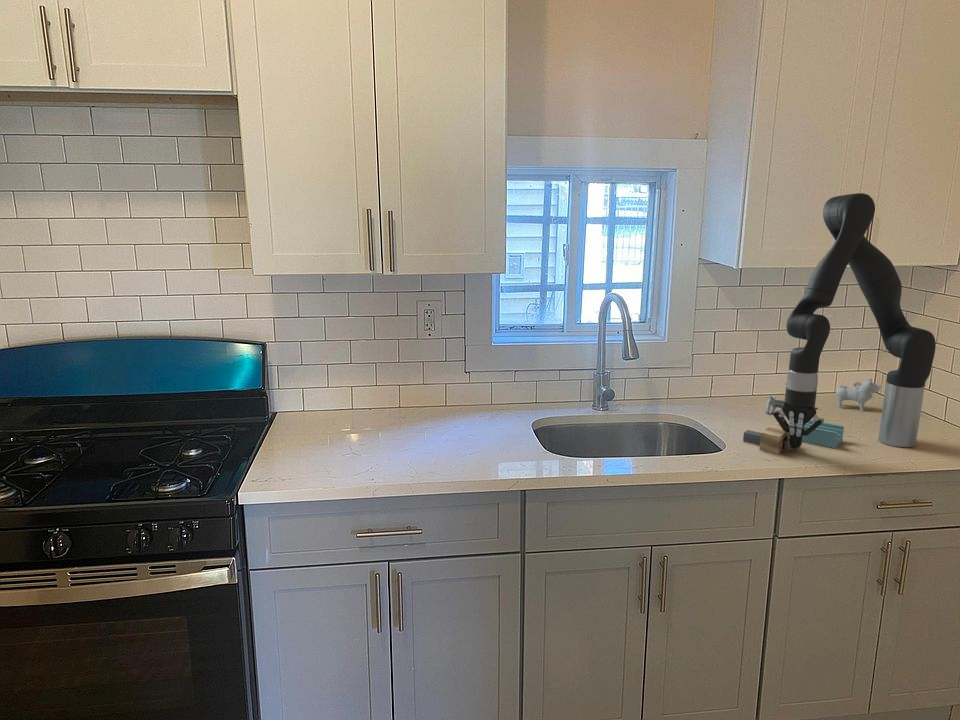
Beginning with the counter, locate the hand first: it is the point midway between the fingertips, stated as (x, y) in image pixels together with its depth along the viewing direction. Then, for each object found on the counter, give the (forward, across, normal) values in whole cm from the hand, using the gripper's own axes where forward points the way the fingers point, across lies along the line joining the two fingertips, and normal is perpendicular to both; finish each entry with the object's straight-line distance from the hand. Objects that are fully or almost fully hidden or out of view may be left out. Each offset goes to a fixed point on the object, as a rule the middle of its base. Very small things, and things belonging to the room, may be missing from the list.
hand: (794, 447), depth 182 cm
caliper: (+2, +12, -39) cm, 41 cm away
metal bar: (+1, +8, 0) cm, 8 cm away
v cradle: (+1, -3, -14) cm, 14 cm away
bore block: (+1, +5, 0) cm, 5 cm away
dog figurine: (+1, -3, -56) cm, 56 cm away
